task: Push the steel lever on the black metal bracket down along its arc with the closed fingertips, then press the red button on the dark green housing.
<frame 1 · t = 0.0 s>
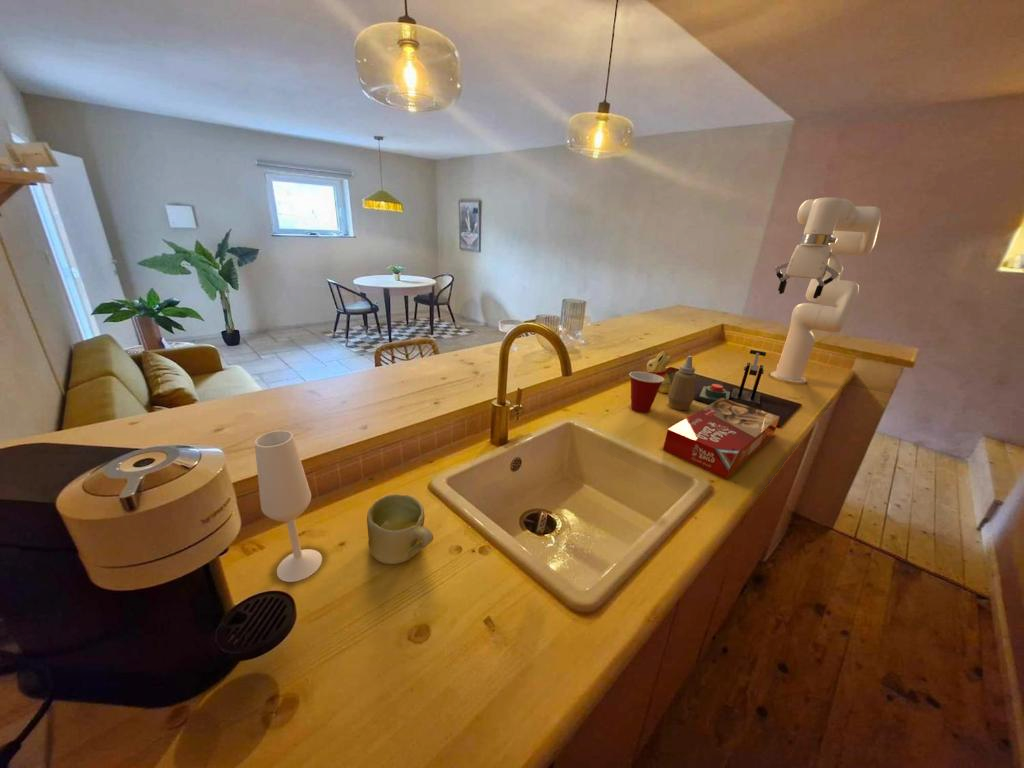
hand: (797, 295, 129), 37 cm above the counter, tool pointing down, fingers open, 9 cm apart
bracket: (745, 398, 142), on the counter
button housing: (713, 399, 139), on the counter
plastic cup: (640, 409, 128), on the counter
squeeze bottle: (678, 407, 132), on the counter
mug: (403, 552, 68), on the counter
champagne flute: (300, 565, 64), on the counter
chocolate bunny: (654, 389, 145), on the counter
button: (716, 388, 137), point 4 cm above the counter, slide at 0.1 cm
food box: (720, 442, 110), on the counter
lever: (755, 362, 140), point 13 cm above the counter, hinge at 25.0°
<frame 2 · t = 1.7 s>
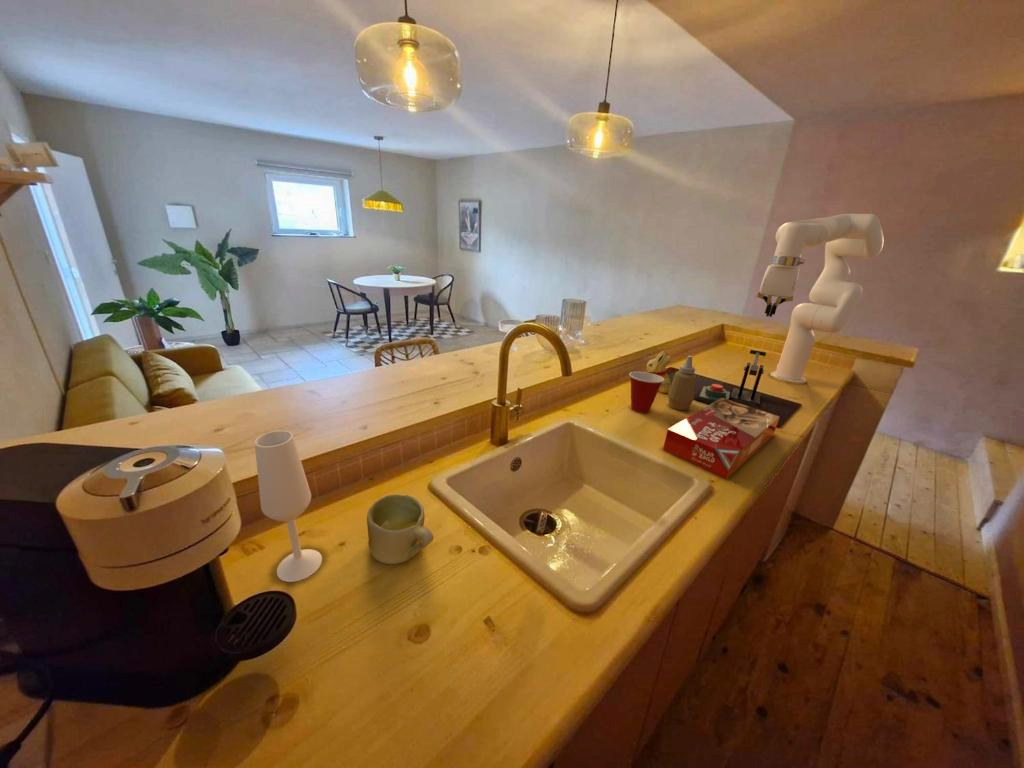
hand: (768, 316, 138), 29 cm above the counter, tool pointing down, fingers closed
nothing on the counter moved.
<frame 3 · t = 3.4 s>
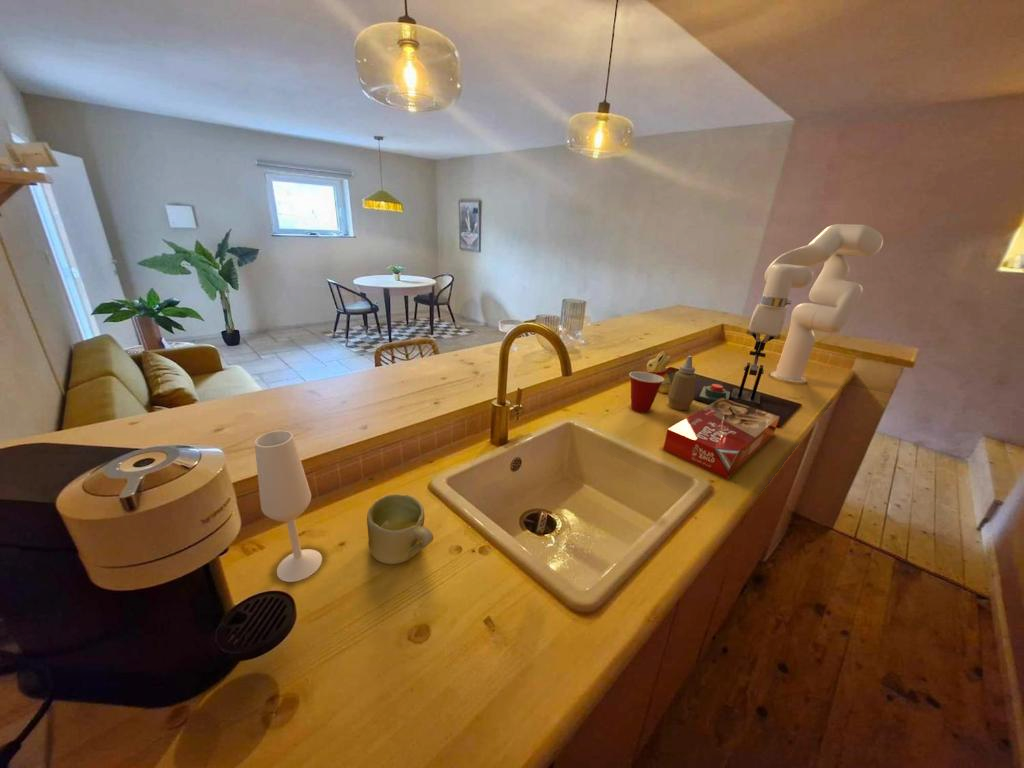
hand: (757, 352, 143), 15 cm above the counter, tool pointing down, fingers closed
lever: (755, 362, 140), point 13 cm above the counter, hinge at 21.9°, touching gripper
everything else where it was.
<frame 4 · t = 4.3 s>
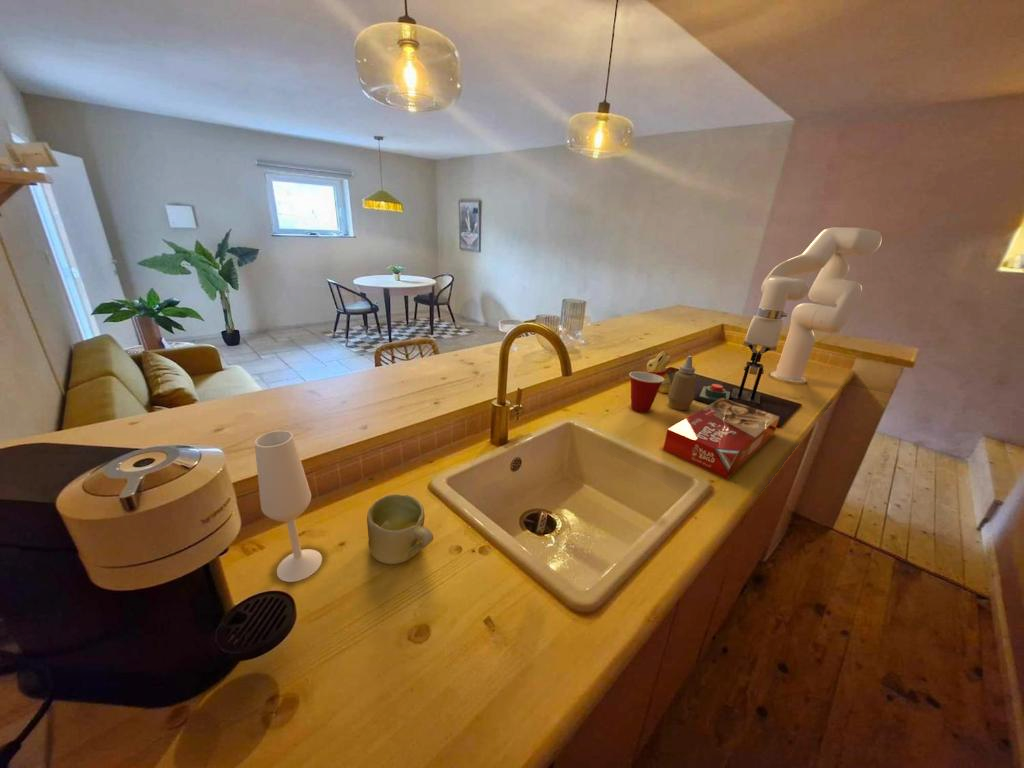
hand: (754, 362, 145), 11 cm above the counter, tool pointing down, fingers closed
lever: (753, 367, 141), point 11 cm above the counter, hinge at -3.6°, touching gripper
everything else where it was.
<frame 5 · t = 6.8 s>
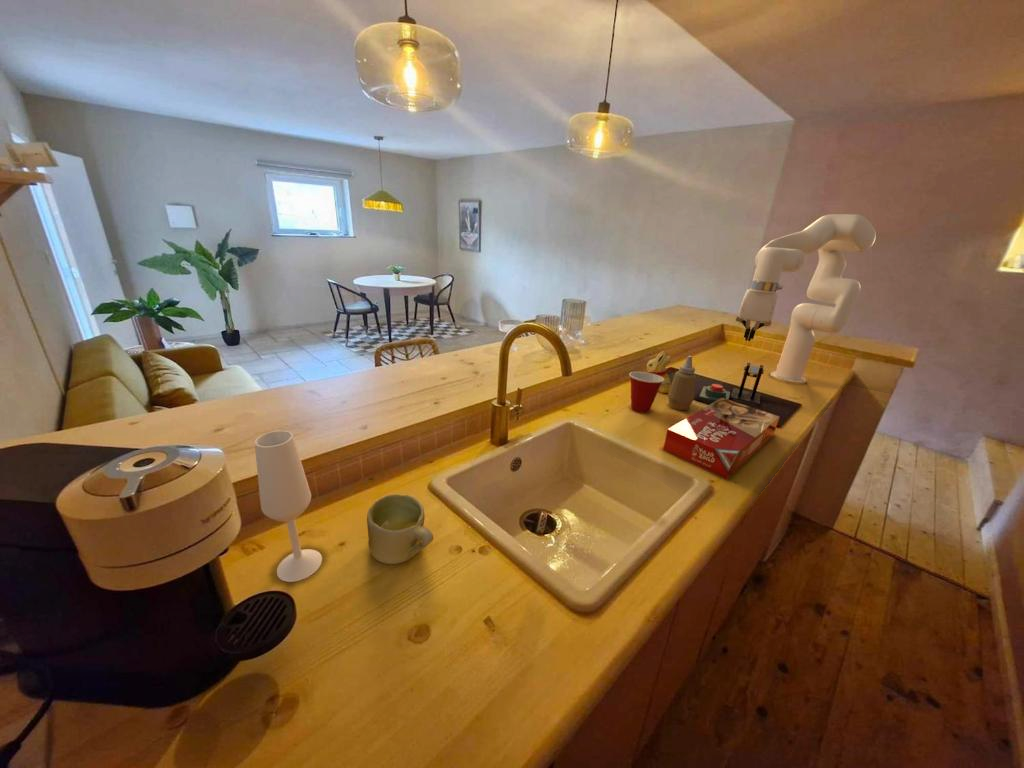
hand: (747, 340, 136), 21 cm above the counter, tool pointing down, fingers closed
lever: (752, 372, 142), point 9 cm above the counter, hinge at -25.7°
everything else where it was.
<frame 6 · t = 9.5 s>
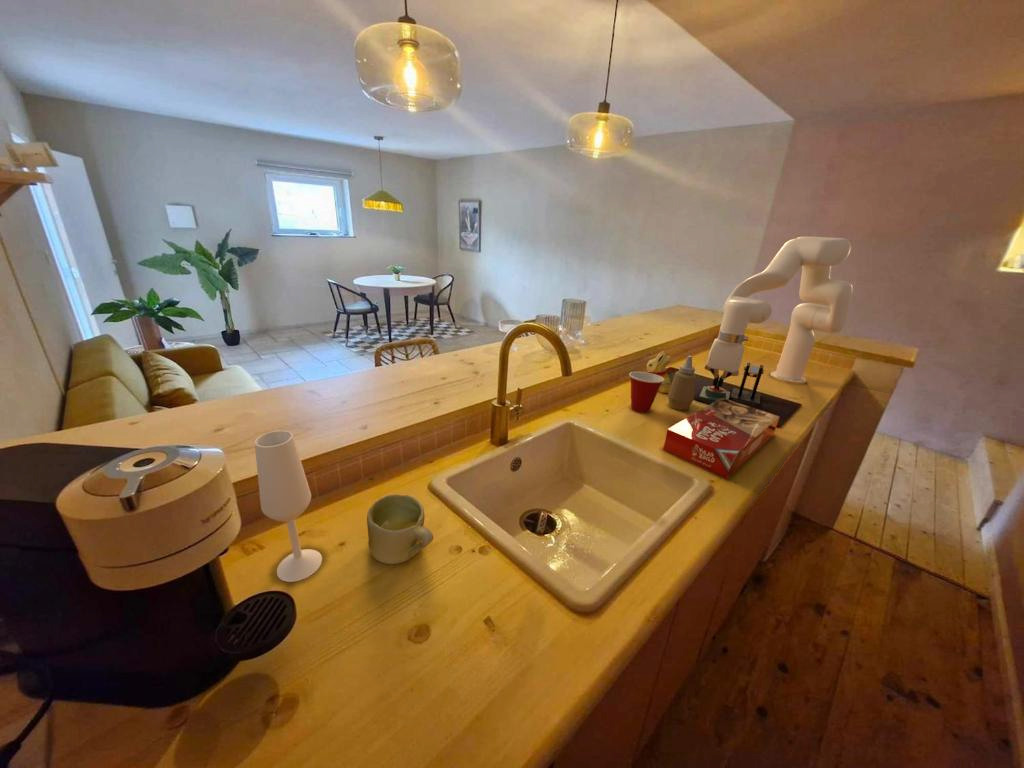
hand: (716, 387, 137), 5 cm above the counter, tool pointing down, fingers closed
button: (716, 390, 138), point 4 cm above the counter, slide at -0.7 cm, touching gripper
everything else where it was.
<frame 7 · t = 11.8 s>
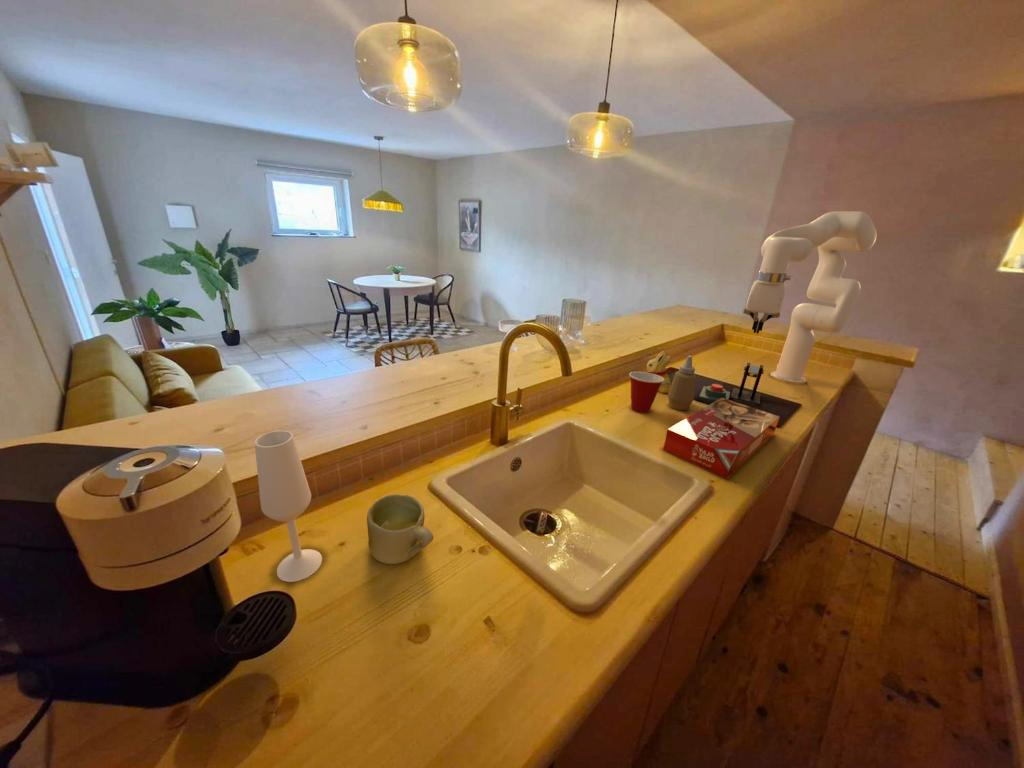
hand: (756, 332, 135), 24 cm above the counter, tool pointing down, fingers closed
button: (716, 388, 137), point 4 cm above the counter, slide at 0.1 cm
everything else where it was.
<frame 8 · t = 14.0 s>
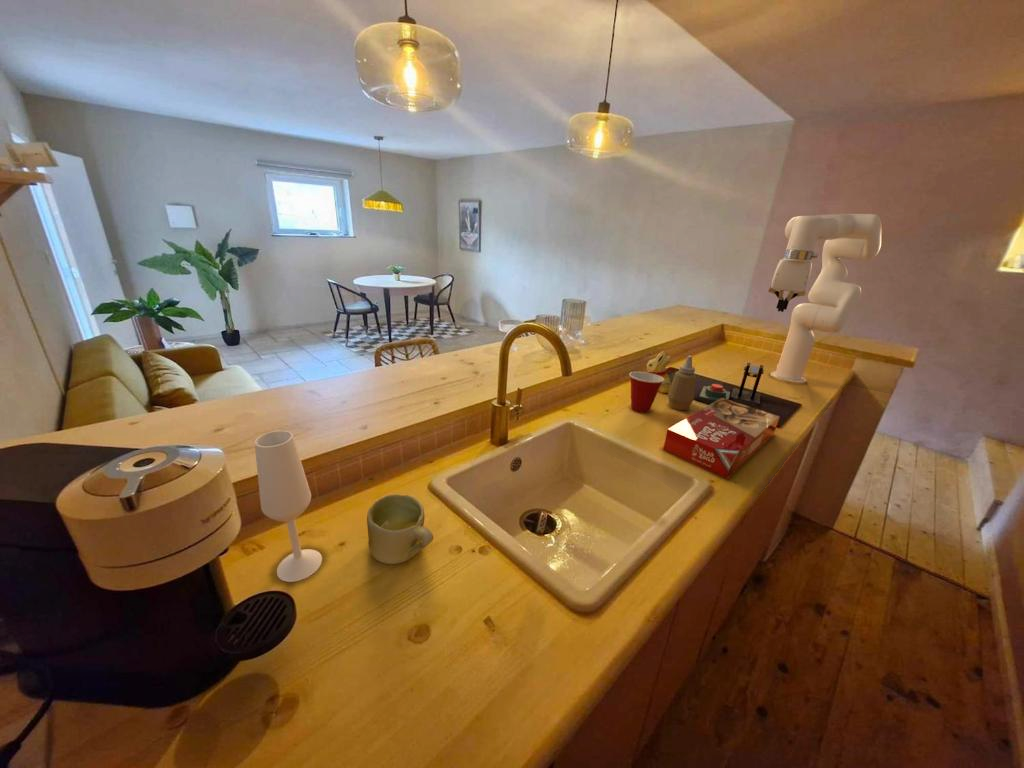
hand: (780, 311, 136), 31 cm above the counter, tool pointing down, fingers closed
nothing on the counter moved.
at the end: lever at -26° (first picture: +25°); button pushed in 1.1 cm at the most during the clip, back to where it started at the end; button slide at 0.1 cm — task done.
